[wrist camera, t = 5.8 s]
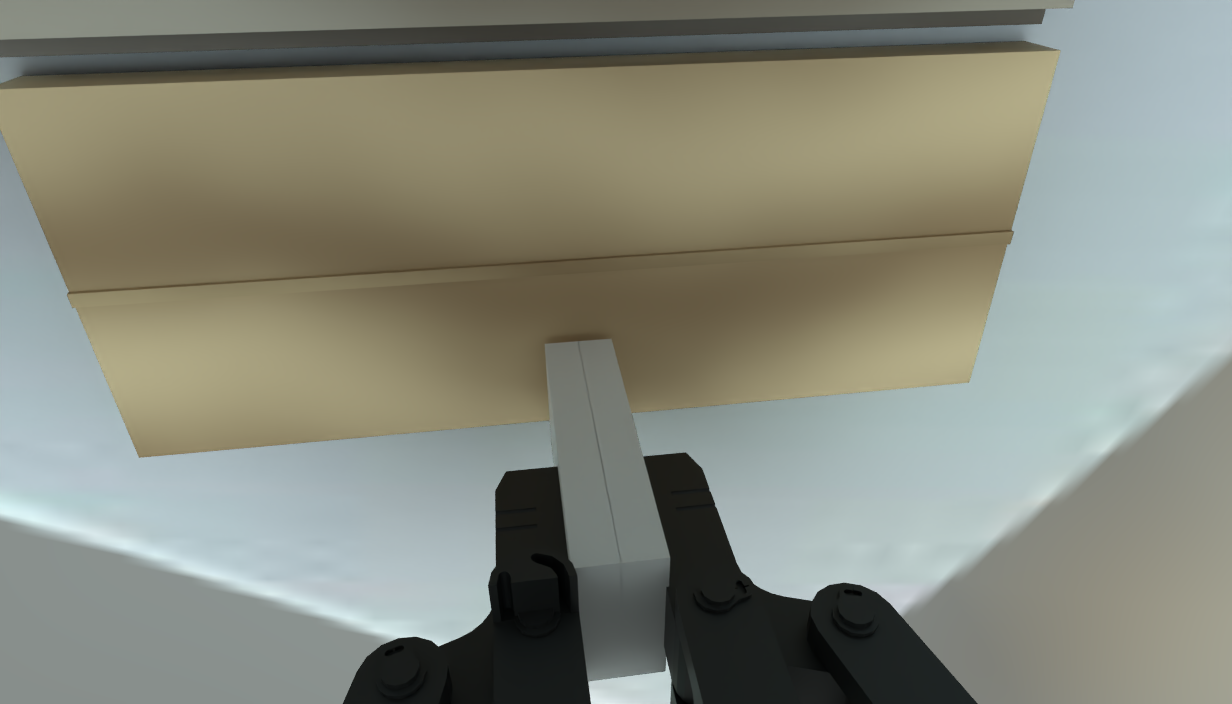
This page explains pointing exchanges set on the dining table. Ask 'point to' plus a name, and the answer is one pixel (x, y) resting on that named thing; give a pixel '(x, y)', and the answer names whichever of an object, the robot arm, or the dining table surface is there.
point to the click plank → (524, 230)
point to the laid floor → (453, 21)
